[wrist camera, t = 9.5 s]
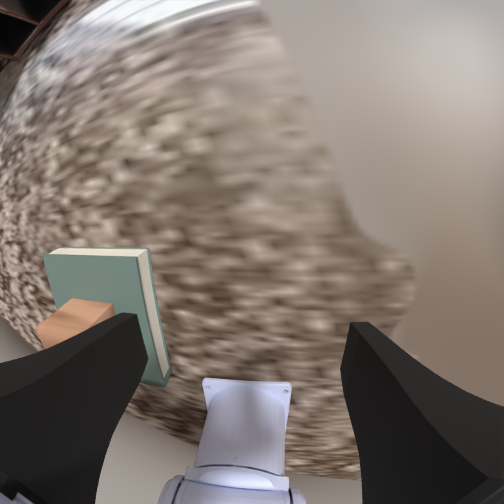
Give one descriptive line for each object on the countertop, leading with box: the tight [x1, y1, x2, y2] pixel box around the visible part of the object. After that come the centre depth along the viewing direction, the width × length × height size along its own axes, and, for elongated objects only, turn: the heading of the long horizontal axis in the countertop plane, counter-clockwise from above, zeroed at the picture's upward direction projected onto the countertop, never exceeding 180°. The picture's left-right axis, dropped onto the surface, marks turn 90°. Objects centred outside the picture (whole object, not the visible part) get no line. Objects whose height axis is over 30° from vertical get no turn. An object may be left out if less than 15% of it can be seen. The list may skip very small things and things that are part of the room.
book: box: [43, 247, 172, 387], centre depth 20 cm, size 12×10×2 cm
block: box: [36, 298, 116, 349], centre depth 17 cm, size 4×4×5 cm
